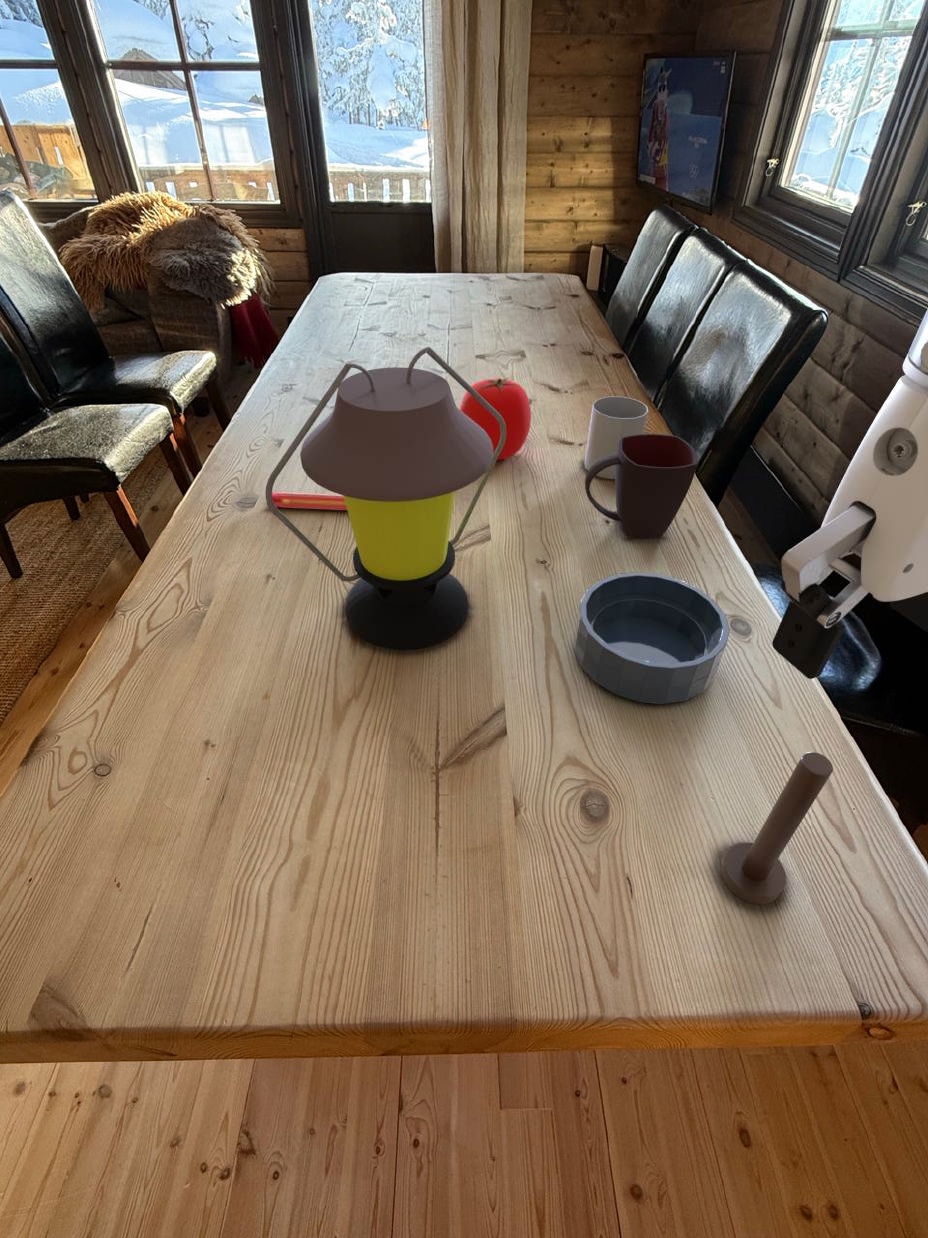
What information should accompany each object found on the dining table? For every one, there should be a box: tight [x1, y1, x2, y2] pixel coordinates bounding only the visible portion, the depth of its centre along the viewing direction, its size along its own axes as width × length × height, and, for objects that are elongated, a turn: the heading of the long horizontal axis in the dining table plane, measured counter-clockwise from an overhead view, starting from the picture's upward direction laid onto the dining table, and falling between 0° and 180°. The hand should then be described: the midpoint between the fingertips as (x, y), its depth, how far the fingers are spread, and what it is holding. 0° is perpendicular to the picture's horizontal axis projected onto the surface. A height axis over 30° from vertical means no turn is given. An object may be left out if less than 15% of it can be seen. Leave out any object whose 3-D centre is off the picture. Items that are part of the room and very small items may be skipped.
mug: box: [584, 433, 699, 540], centre depth 89 cm, size 10×14×12 cm
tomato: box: [459, 377, 532, 461], centre depth 106 cm, size 12×12×13 cm
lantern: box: [265, 346, 506, 651], centre depth 70 cm, size 25×19×30 cm
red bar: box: [272, 491, 347, 511], centre depth 96 cm, size 24×2×5 cm
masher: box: [719, 751, 834, 905], centre depth 49 cm, size 5×5×15 cm
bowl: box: [573, 571, 731, 705], centre depth 72 cm, size 15×15×6 cm
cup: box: [584, 395, 649, 480], centre depth 104 cm, size 8×8×10 cm
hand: (855, 639), depth 40 cm, fingers open, 9 cm apart
